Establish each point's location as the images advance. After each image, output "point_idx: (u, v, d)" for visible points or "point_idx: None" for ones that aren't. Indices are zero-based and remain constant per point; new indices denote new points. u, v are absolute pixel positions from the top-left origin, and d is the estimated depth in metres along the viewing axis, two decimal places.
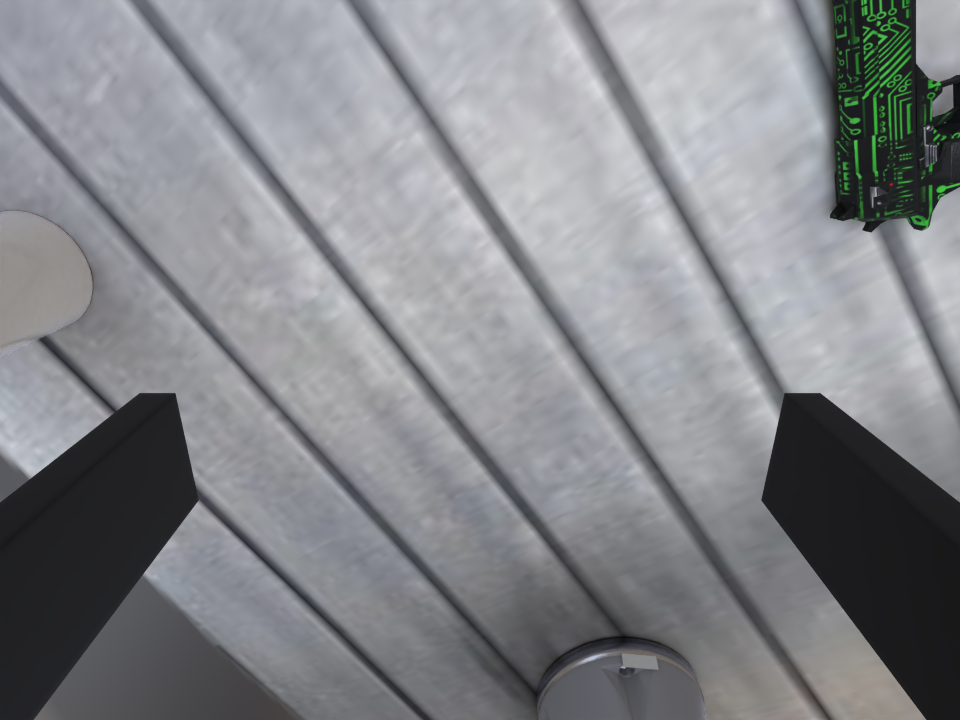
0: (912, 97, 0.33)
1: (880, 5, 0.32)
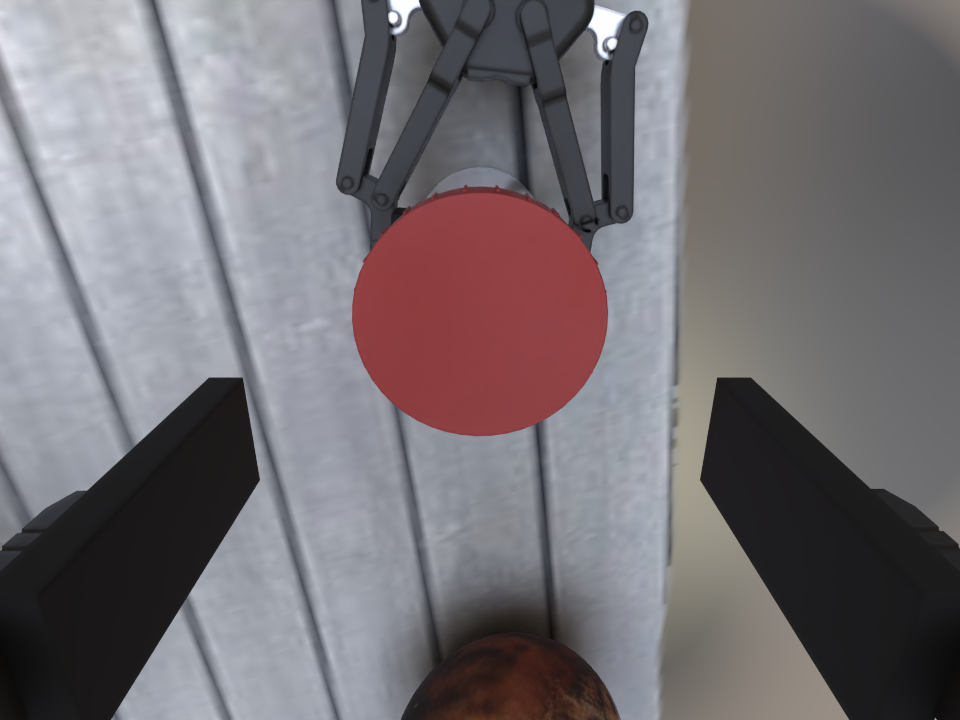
0: None
1: None
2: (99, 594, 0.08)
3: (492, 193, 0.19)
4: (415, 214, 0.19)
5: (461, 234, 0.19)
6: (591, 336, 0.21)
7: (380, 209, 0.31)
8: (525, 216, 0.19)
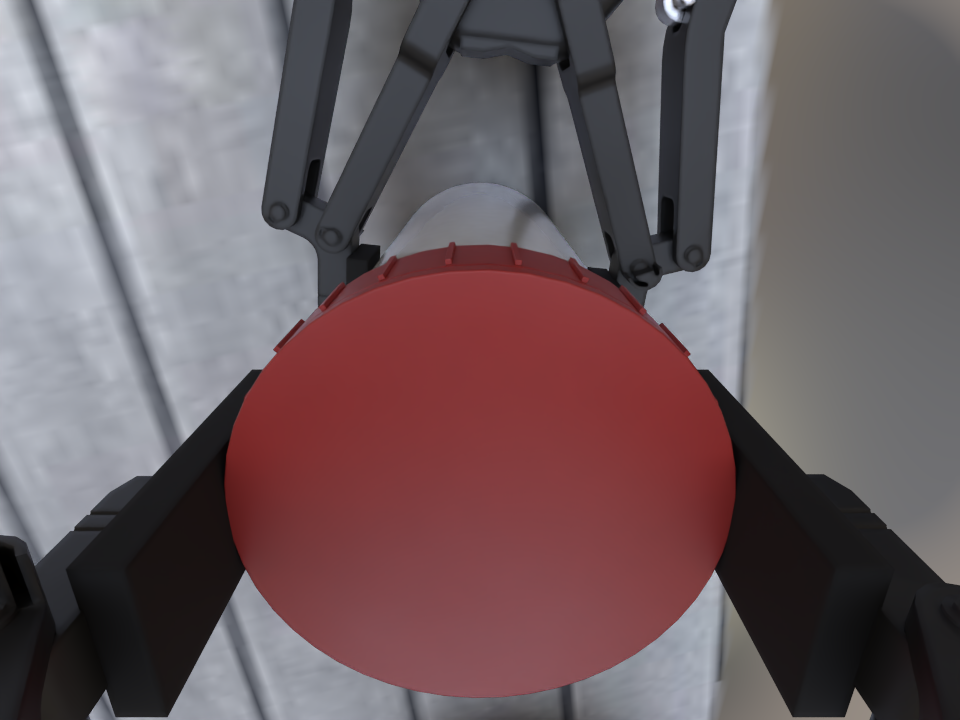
0: None
1: None
2: (173, 570, 0.09)
3: (507, 271, 0.09)
4: (341, 315, 0.09)
5: (440, 354, 0.09)
6: (699, 540, 0.11)
7: (330, 251, 0.20)
8: (577, 319, 0.09)
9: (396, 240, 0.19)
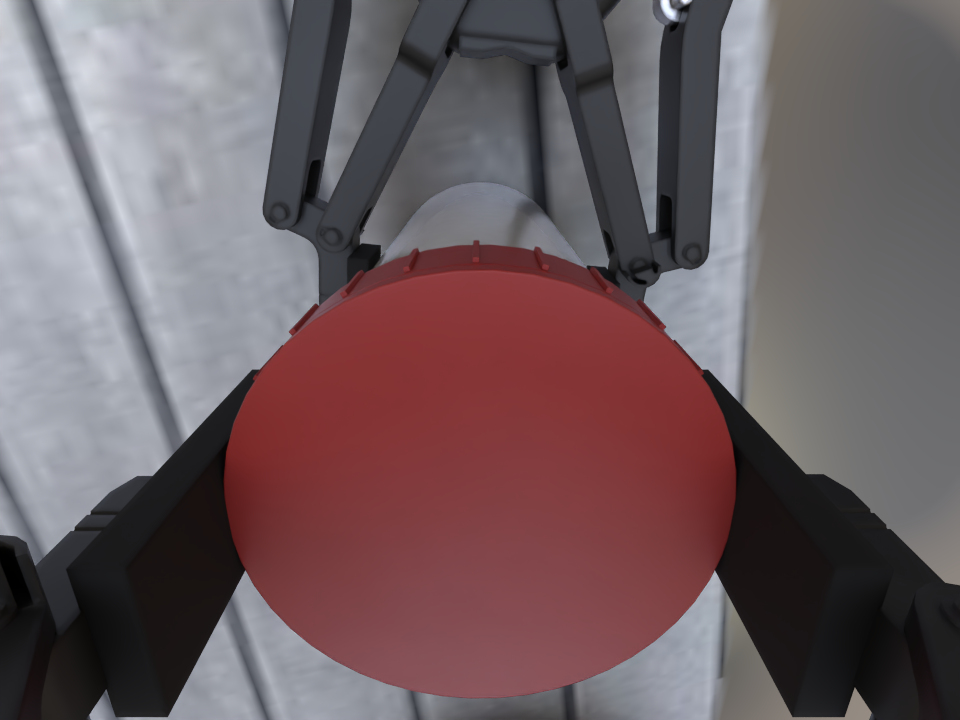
0: None
1: None
2: (172, 571, 0.08)
3: (265, 595, 0.11)
4: (366, 672, 0.12)
5: (351, 609, 0.11)
6: (379, 322, 0.09)
7: (331, 250, 0.20)
8: (259, 543, 0.11)
9: (396, 239, 0.19)
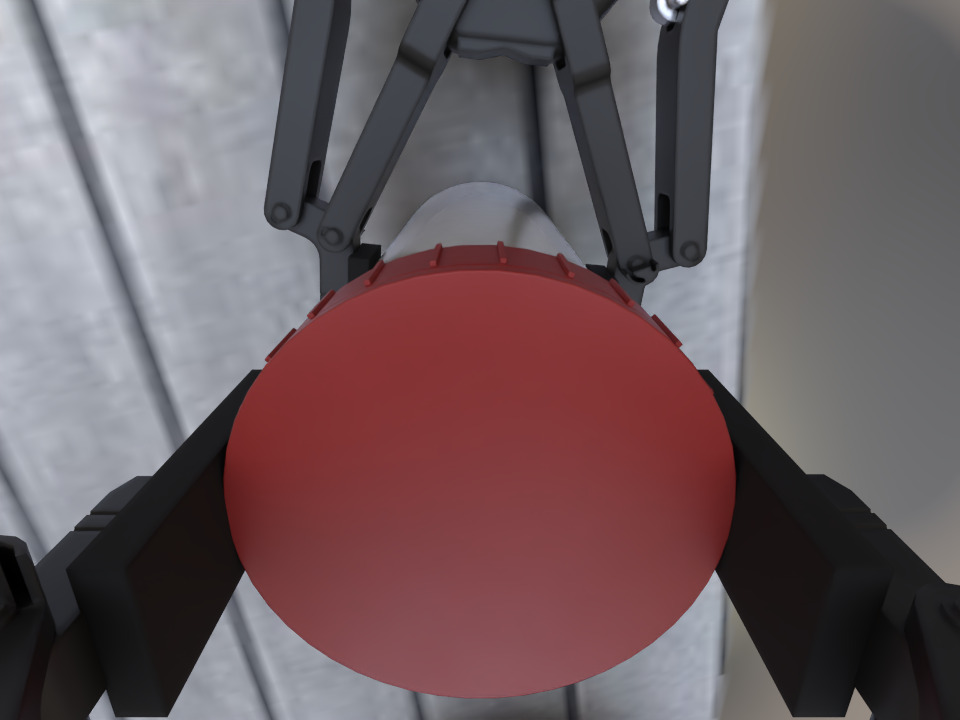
0: None
1: None
2: (172, 570, 0.09)
3: (662, 630, 0.11)
4: (723, 529, 0.10)
5: (642, 570, 0.11)
6: (355, 650, 0.12)
7: (331, 250, 0.21)
8: (600, 654, 0.12)
9: (396, 239, 0.19)
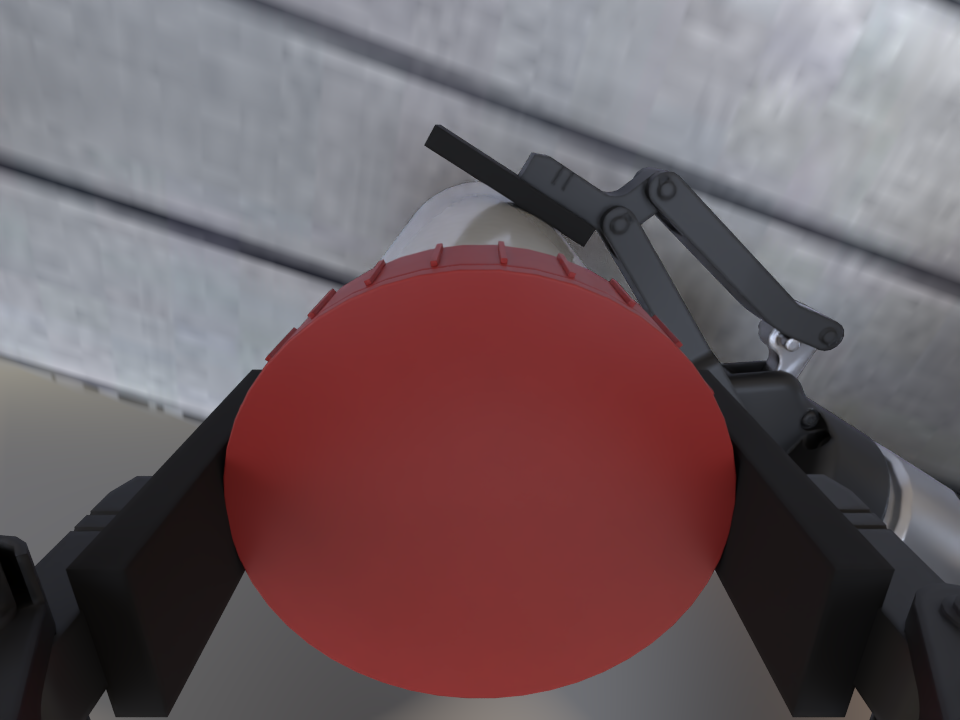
0: None
1: None
2: (173, 570, 0.09)
3: (662, 630, 0.11)
4: (723, 530, 0.10)
5: (642, 571, 0.11)
6: (354, 650, 0.12)
7: (608, 215, 0.20)
8: (600, 654, 0.12)
9: None
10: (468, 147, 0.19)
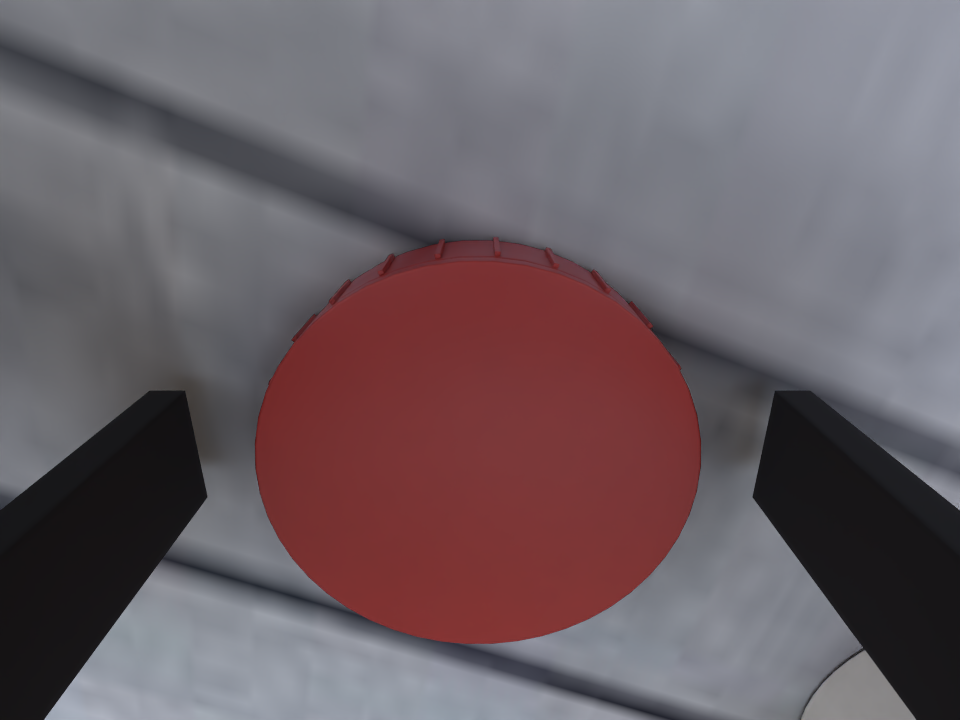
0: None
1: None
2: None
3: (639, 581, 0.13)
4: (691, 489, 0.12)
5: (621, 526, 0.12)
6: (368, 599, 0.13)
7: None
8: (585, 602, 0.13)
9: None
10: None
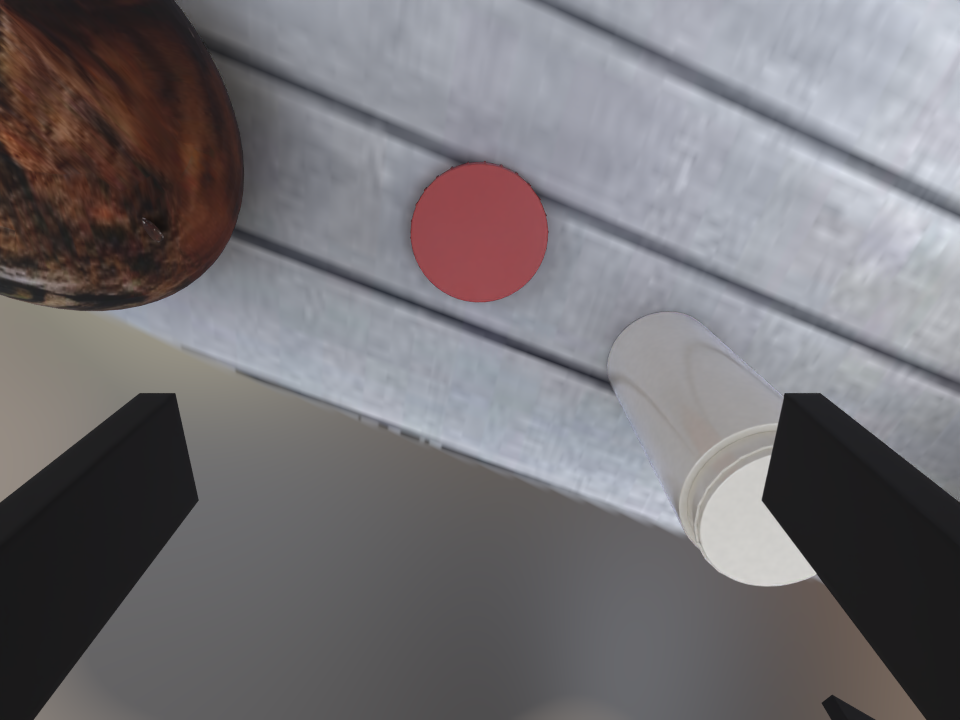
0: None
1: None
2: None
3: (532, 276, 0.40)
4: (545, 239, 0.39)
5: (524, 253, 0.39)
6: (442, 283, 0.40)
7: None
8: (514, 284, 0.40)
9: None
10: None
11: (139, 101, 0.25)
